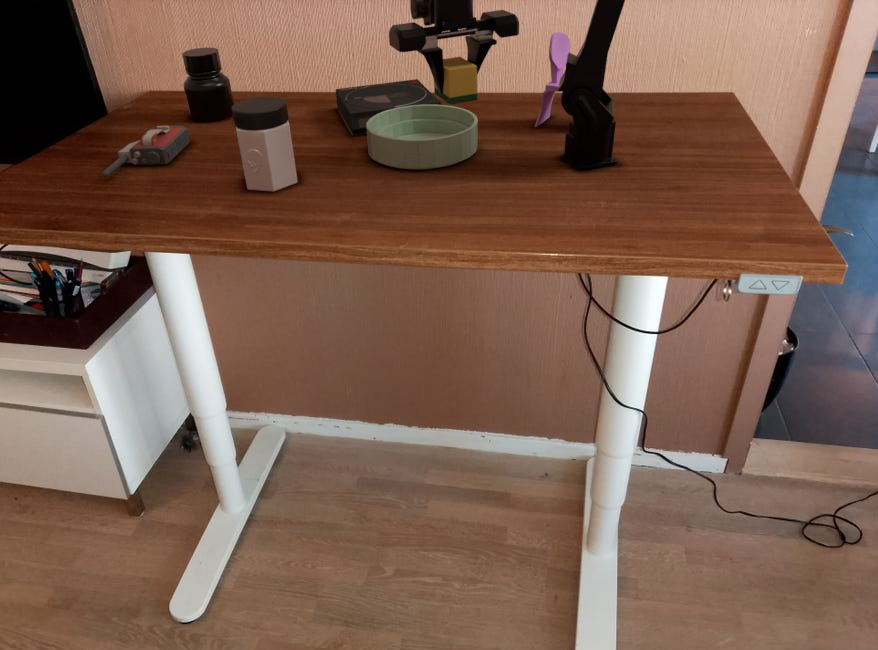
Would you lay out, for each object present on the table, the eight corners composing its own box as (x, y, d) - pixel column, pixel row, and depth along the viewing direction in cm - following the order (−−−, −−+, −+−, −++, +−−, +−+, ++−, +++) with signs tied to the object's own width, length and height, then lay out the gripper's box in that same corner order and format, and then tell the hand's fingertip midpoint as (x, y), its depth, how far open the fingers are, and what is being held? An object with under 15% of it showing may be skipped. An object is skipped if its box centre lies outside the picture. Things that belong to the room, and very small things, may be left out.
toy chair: (580, 135, 123) (588, 41, 114) (531, 128, 127) (536, 37, 118) (596, 120, 128) (606, 30, 120) (550, 115, 132) (555, 27, 124)
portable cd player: (353, 137, 128) (351, 114, 126) (337, 109, 142) (335, 89, 140) (442, 125, 131) (441, 103, 129) (418, 99, 145) (417, 79, 142)
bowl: (453, 127, 130) (453, 98, 127) (494, 160, 116) (495, 129, 113) (356, 142, 126) (353, 114, 123) (387, 179, 112) (384, 147, 109)
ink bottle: (216, 105, 149) (204, 44, 142) (246, 111, 145) (235, 48, 138) (179, 119, 143) (164, 55, 136) (209, 125, 138) (196, 60, 131)
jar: (234, 189, 112) (218, 111, 105) (257, 170, 118) (244, 95, 111) (286, 193, 109) (274, 114, 102) (307, 173, 115) (297, 97, 108)
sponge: (460, 89, 115) (460, 56, 112) (477, 100, 110) (477, 65, 107) (434, 93, 114) (432, 60, 111) (449, 104, 109) (448, 70, 106)
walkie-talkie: (149, 140, 133) (100, 183, 117) (143, 116, 130) (91, 156, 114) (194, 140, 132) (151, 182, 116) (189, 115, 129) (143, 156, 113)
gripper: (491, -36, 111) (490, 69, 120) (374, -22, 107) (383, 86, 116) (522, -28, 102) (519, 86, 111) (396, -12, 98) (404, 104, 107)
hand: (455, 90), depth 111 cm, fingers closed on sponge, 4 cm apart
